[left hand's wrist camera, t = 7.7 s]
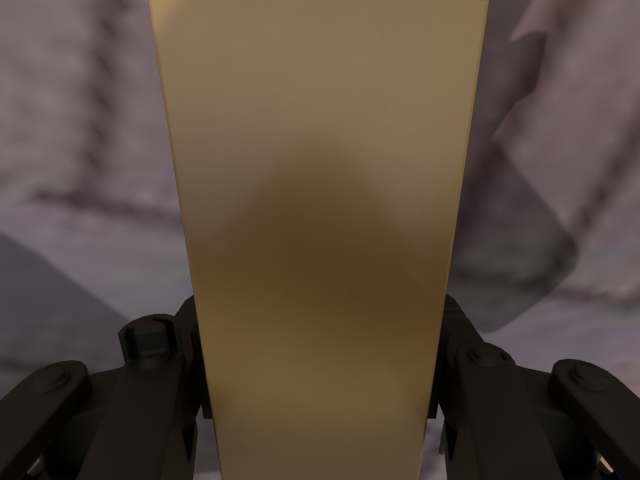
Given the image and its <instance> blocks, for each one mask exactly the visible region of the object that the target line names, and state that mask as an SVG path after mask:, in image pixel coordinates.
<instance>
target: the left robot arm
mask: <svg viewBox="0 0 640 480" xmlns="http://www.w3.org/2000/svg"><path fill="white" fill-rule="evenodd" d="M118 336H119V340H120V344H121V348H122V352H123V356H124V360H125V364H124V367H121V368H118V369H114V370H109V371H105V372H100V373H95V374H91V375H89V373H88V370H87V366H86V365H85V364H83V363H82V362H80V361H74V360H70V361H62V362H57V363H54V364H50V365H48V366H45V367H43V368H41V369H39V370H37V371H35V372H33V373H32V374H31V375H29V376H28V377H27V378H25V379H24V380H22V381H21V382H20V383H19V384H18V385H17V386H16V387H15V388H14V389H13V390H11V391H10V392H9V393H8V394H7V395H6V396H5V397H4V398H3V399H2V400H0V480H193V473H194V463H195V454H196V444H197V434H198V431H197V424H196V419H195V418H196V416H197V413H198V411H199V408H200V406H201V404H202V410H203V416H204V419H213V417H212V411H211V404H210V398H209V391H208V385H207V378H206V372H205V365H204V359H203V352H202V345H201V339H200V332H199V326H198V319H197V313H196V306H195V300H194V295H193V296H191V297H190V298H188V299H187V300H186V301H185V302H184V303H183V305H182V306H181V308H180V309H179V311H178V312H177V313H176V315H175V316H172V315H168V314H153V315H148V316H143V317H141V318H138V319H136V320H133V321H131V322H130V323H128V324H127V325H125V326H124V327H123V328H122V329H121V330H120V332H119V333H118ZM438 402H439V405H440V407H441V409H442V412H443V414H444V417H445V419H444V424H443V430H442V436H441V441H440V447H439V454H443V452H444V453H445V463H446V472H447V480H640V398H638V397H637V396H636V395H635V394H634V393H633V392H632V391H631V390H630V389H629V388H627V387H626V386H625V385H624V384H623V383H622V382H621V381H620V380H619V379H617V378H616V377H615V376H613V375H612V374H610V373H609V372H608V371H606V370H604V369H602V368H600V367H598V366H596V365H594V364H591V363H589V362H585V361H581V360H575V359H563V360H559V361H557V362H556V363H555V364H554V365H553V369H552V372H551V373H547V372H542V371H537V370H533V369H528V368H524V367H520V366H517V365H516V364H515V362H514V360H513V359H512V357H511V356H510V355H509V354H508V353H507V352H505V351H504V350H503V349H501V348H499V347H497V346H495V345H493V344H490V343H486V342H484V341H483V339H482V338H481V336H480V335H479V333H478V332H477V331H476V329H475V328H474V326H473V325H472V324H471V322H470V321H469V319H468V318H466V315H465V314H464V312H463V311H462V310H461V308H460V307H459V305H458V304H457V302H456V301H455V299H453V298H452V297H450V296H449V295H447V294H446V296H445V303H444V310H443V316H442V323H441V330H440V337H439V344H438V350H437V357H436V364H435V371H434V377H433V384H432V391H431V398H430V405H429V411H428V418H427V419H436V415H437V409H438ZM601 456H602V457H603V458H604V459H605V460H606V462H607V463H608V464H609V465H610V467H611V468H612V469H613V470H614V471H613V472H610V471H609V470H608V469H607V468H606V467H605V466H604V464H603V463H602V462H601V460H600V459H601ZM38 458H39V460H40V462H39V463H38V465H37V466H36V467H35V468H34V469H33V470H32V471H31V472H30V473H29V474H28V473H27V471H28V470H29V469H30V468H31V466H32V465H33V464H34V463H35V461H36V460H37V459H38Z"/></svg>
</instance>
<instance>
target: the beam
mask: <svg viewBox="0 0 640 480" xmlns="http://www.w3.org/2000/svg"><path fill="white" fill-rule="evenodd" d="M488 5H489V0H149V6H150V13H151V20H152V26H153V33H154V39H155V46H156V52H157V59H158V65H159V72H160V78H161V85H162V91H163V98H164V104H165V111H166V117H167V124H168V130H169V137H170V143H171V150H172V156H173V163H174V169H175V176H176V183H177V189H178V196H179V202H180V209H181V215H182V222H183V228H184V235H185V241H186V248H187V254H188V261H189V267H190V274H191V280H192V287H193V293H194V300H195V306H196V313H197V319H198V326H199V332H200V339H201V345H202V352H203V359H204V365H205V372H206V378H207V385H208V391H209V398H210V404H211V411H212V417H213V424H214V430H215V437H216V443H217V450H218V456H219V463H220V469H221V476H222V480H418V479H419V472H420V466H421V459H422V452H423V445H424V439H425V432H426V425H427V418H428V411H429V405H430V398H431V391H432V384H433V377H434V371H435V364H436V357H437V350H438V344H439V337H440V330H441V323H442V316H443V310H444V303H445V296H446V289H447V283H448V276H449V269H450V262H451V255H452V249H453V242H454V235H455V228H456V222H457V215H458V208H459V201H460V194H461V188H462V181H463V174H464V167H465V161H466V154H467V147H468V140H469V133H470V127H471V120H472V113H473V106H474V100H475V93H476V86H477V79H478V72H479V66H480V59H481V52H482V45H483V39H484V32H485V25H486V18H487V11H488Z"/></svg>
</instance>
